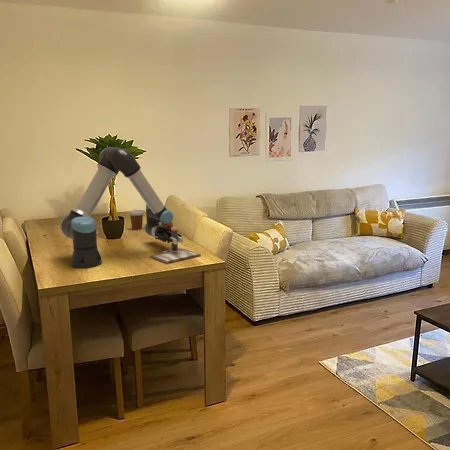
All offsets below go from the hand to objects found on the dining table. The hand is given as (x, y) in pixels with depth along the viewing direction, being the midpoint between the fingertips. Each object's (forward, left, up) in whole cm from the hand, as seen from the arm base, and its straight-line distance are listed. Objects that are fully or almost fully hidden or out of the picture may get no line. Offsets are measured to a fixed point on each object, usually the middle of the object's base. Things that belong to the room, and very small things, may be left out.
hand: (179, 241), depth 248 cm
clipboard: (-1, +2, -9) cm, 9 cm away
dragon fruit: (+28, +54, -9) cm, 62 cm away
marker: (+1, +6, -8) cm, 10 cm away
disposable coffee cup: (+18, +74, -9) cm, 77 cm away
